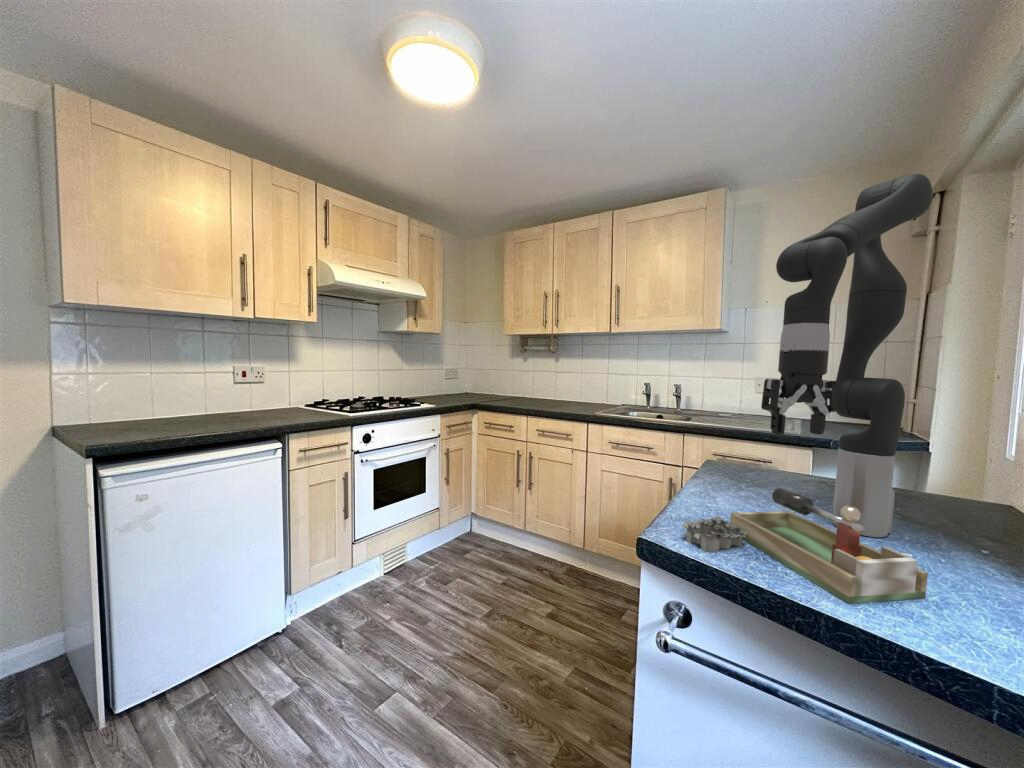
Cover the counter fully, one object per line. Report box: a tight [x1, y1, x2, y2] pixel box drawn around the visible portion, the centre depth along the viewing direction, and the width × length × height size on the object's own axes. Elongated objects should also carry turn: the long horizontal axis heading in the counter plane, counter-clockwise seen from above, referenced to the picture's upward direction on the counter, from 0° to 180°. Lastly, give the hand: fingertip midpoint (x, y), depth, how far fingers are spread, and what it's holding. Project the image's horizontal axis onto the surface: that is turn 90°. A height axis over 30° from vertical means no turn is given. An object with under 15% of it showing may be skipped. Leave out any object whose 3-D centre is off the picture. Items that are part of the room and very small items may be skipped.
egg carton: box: [682, 515, 748, 553], centre depth 78 cm, size 11×8×4 cm
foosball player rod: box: [771, 487, 865, 564], centre depth 72 cm, size 4×16×11 cm, turn 9°
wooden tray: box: [729, 510, 929, 604], centre depth 72 cm, size 14×25×6 cm, turn 9°
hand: (797, 433), depth 76 cm, fingers open, 8 cm apart
